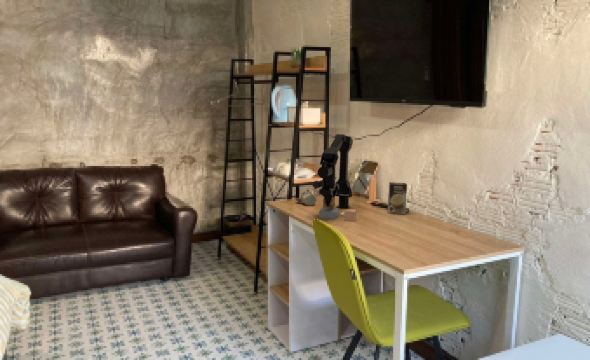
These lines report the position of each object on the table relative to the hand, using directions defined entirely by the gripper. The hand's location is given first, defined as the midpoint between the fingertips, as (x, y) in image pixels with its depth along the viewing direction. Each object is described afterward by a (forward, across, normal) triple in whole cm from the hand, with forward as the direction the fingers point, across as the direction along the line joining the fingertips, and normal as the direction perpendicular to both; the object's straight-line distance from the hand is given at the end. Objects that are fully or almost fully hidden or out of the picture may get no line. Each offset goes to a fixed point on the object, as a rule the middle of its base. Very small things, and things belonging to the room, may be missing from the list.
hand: (329, 205), depth 263 cm
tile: (+6, -8, +8) cm, 13 cm away
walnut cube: (+1, 0, 0) cm, 1 cm away
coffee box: (+6, -21, +32) cm, 39 cm away
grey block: (+6, 0, 0) cm, 6 cm away
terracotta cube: (+6, +3, +12) cm, 14 cm away
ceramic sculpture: (+6, -26, -20) cm, 33 cm away
